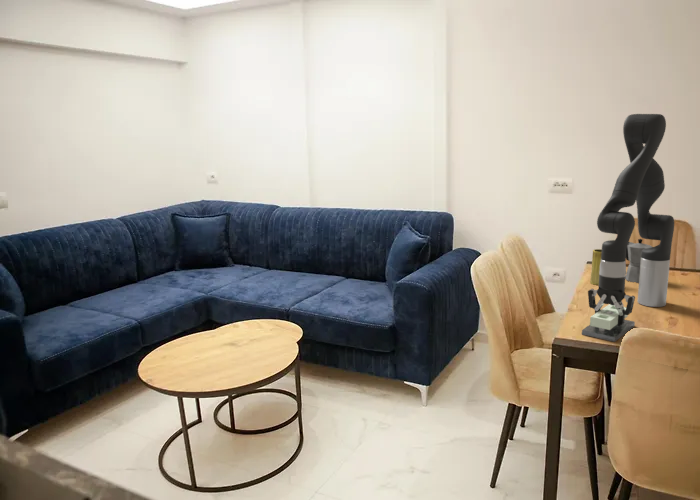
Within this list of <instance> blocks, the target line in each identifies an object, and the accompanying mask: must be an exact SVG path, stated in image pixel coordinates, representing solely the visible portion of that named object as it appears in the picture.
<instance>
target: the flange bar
mask: <svg viewBox="0 0 700 500" xmlns="http://www.w3.org/2000/svg"><path fill="white" fill-rule="evenodd" d="M626 307H627V306H626ZM626 307H625V306H624V309H625V310H626ZM607 311H610V312H613V313H614V315H613V314H607V313H606V312H607ZM618 315H619V313H618V310H617V309H616V308H615V305H610V304H606V306H605V307H602V308H601V309H600V311H598V312H597V313H595V312H594V314H593V315H591V316H590V318H589V319H590V320H589V325H590V326H594V327H598V328H603V329H607V330H610V329H612V328H613V327H614V326H616V325H617V324H618ZM627 317H629V315H625V319H626V318H627Z"/></svg>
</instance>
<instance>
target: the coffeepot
mask: <svg viewBox="0 0 700 500" xmlns="http://www.w3.org/2000/svg"><path fill="white" fill-rule="evenodd" d="M637 241H638V242H637V243H635V242H631V241H629V242H628V245H627V249H626V260H627V261H628V262H629V265H627V268H626V276H625V281H627V282H629V281H630V283H634V282H636V284H639V276H640V263H641V252H642V250H643V249H646V248H651V247H653V246H652V245H650V244H646V243H643V238H639V239H637Z"/></svg>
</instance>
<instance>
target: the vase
mask: <svg viewBox="0 0 700 500" xmlns="http://www.w3.org/2000/svg"><path fill="white" fill-rule="evenodd" d="M601 253H602V248H601V249H600V248H599V249H598V248H597V249H595V248H594V249H592V258H591V259H592V260H591V267H590V268H591V271H590V281H589V283H590V284H591V285H595V286H599V271H600V263H601Z"/></svg>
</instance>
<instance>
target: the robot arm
mask: <svg viewBox="0 0 700 500" xmlns="http://www.w3.org/2000/svg"><path fill="white" fill-rule="evenodd" d="M666 121H667V120H666V118H665V116H664V114H660V113H635V114H634V113H633V114H629V115H627V117H626V118H625V120H624V122H623V127H622V128H623V129H622V133H623V139H624V143H625V147H626V150H627V153H628V157H629V158H628V159H629V162H630V163H629V164H628V165H627V166H626V167H625V168H623V170H622V171H621V172H620V173H619V175H618V176H617V179H616V181H615V184H614V187H613V190H612V194H611V196H610V197H609V199H608V200H607V202H606V204H605V205H604V207H603V208H602V209H601V211H600V212H599V214H598V217H597V220H596V227H597V228H598V231H600V232H602V233H606V234H611V235H612V234H613V235H616V238H615V239H611V240H606V241H603V242H602V243H601V244H602V245H601V249H602V253H601V263H600V271H599V285H598V289H594V288H591V289H588V291H587V296H588V299H587V300H588V307H589V308H590V309H593V310H594V314H595V313H597V312H598V311H600V310H601V309H603V306H604V304H605V305H609V304H610V305H615V308H616V309H617V310H618V313H619V315H618V326H622V325H623V324H624V320H626V318H625V315H628V316H629V315H630V314H632V312H633V308H634V304H635V299H636V296H635V295H629V294H626V291H625V288H626V287H625V285H626V279H625V277H626V273H627V264H626V249H627V245H628V242H630V240H631V236H632V234H633V233H634V232H633V231H634V229H635V225H636V220H635V217H634V215H632V213H630V212H628V211H626V212H625V211H620V210H621V209H624V208H629V207H633V206H634V205H635V203H636V208H637V209H636V211H637V228H638V229H637V230H638V234H639V237H640V238H641V239H646V240H653V241H660V242H659V244H658V245H655V246H652V247H651V248H646V249H643V250H642V252H641V263H640V276H639V283H638V290H637V304H640V305H643V306H646V307H652V308H653V307H655V308H657V307H658V308H661V307H665V306H666V304H667V296H668V295H667V294H668V286H669V277H670V276H669V275H670V263H671V253H672V245H673V244H672V243H673V238H674V232H675V218H674V217H673V216H672V215H669V214H656V213H651V212H650V210H651V208H652V206H653V205H654V204H655V203H656V201H658V200H659V198H660V197H661V196H662V194H663V192H664V191H665V186H666V184H665V175H664V171H663V168H662V166H661V165H660V164H659V163H658V161H656V160H655V159H654V157H655V156H656V154H657V152H658V149H659V147H660V144H661V142H662V141H663V139H664V136H665V132H666V128H667V122H666ZM596 296H598V297H599V300H598V302H597V303H596ZM624 299H625V302H626V310H625V309H624V307H625V305H624V303H623V300H624Z"/></svg>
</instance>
